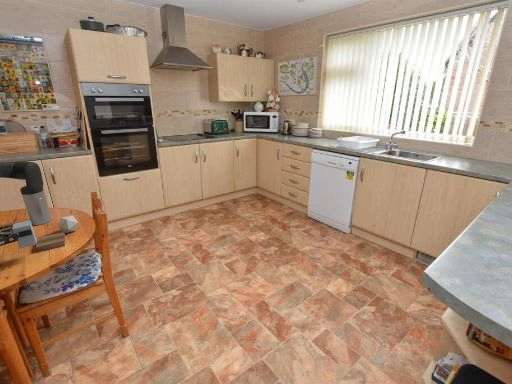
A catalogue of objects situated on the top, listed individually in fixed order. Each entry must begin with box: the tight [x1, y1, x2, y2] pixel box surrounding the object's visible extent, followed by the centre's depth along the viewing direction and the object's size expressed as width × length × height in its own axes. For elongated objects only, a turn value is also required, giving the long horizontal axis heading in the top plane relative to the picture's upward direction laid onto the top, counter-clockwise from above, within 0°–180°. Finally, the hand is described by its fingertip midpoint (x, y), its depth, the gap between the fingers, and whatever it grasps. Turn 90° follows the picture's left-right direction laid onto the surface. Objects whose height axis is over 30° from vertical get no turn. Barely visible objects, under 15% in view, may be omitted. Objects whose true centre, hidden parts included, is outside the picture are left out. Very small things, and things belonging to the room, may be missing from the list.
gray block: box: [12, 220, 37, 249], centre depth 112 cm, size 6×6×9 cm
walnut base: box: [35, 231, 66, 253], centre depth 125 cm, size 10×10×3 cm
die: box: [57, 215, 79, 235], centre depth 136 cm, size 8×9×10 cm
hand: (31, 229), depth 113 cm, fingers closed on gray block, 5 cm apart
